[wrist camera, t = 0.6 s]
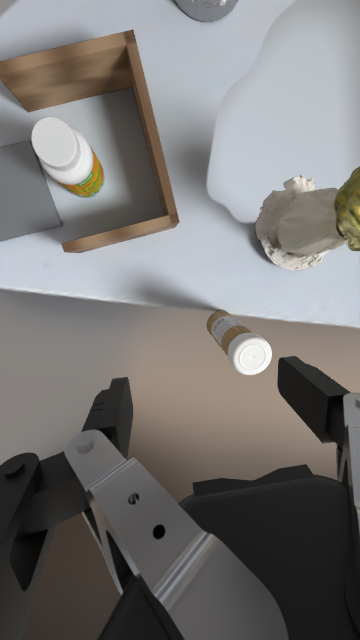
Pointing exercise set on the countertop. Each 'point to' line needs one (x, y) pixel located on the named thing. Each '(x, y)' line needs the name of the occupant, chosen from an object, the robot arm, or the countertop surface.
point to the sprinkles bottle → (239, 343)
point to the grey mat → (24, 193)
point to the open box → (86, 81)
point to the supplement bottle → (67, 157)
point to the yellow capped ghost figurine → (309, 221)
